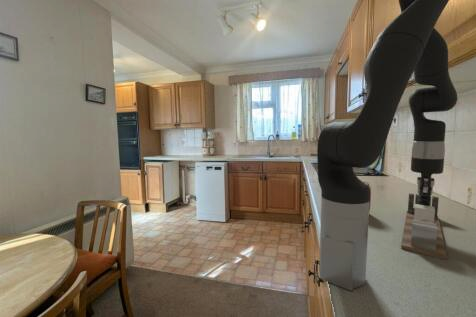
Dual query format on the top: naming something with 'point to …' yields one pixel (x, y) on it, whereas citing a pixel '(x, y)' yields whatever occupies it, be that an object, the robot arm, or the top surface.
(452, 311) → the top surface
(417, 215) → the sleeve
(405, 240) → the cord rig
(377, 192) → the top surface
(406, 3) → the robot arm
